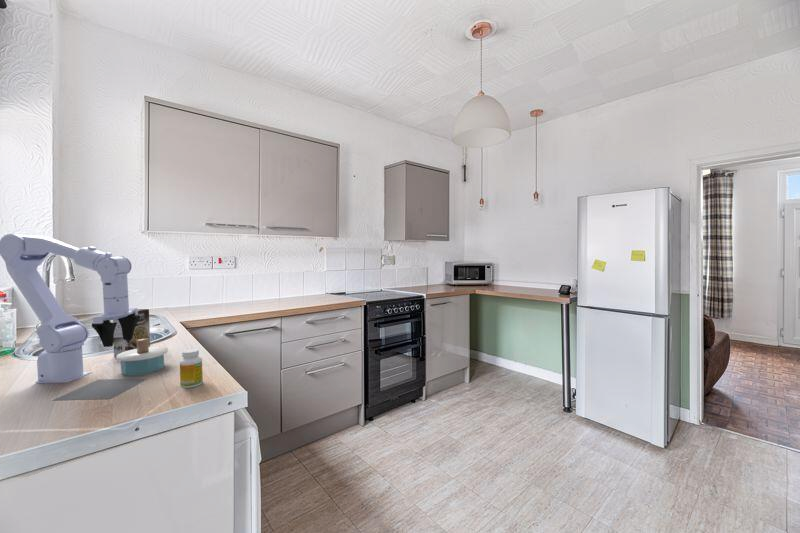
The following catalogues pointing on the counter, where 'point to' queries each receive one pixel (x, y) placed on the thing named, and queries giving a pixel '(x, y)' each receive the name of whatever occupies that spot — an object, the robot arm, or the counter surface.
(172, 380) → the counter surface
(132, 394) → the counter surface
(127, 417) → the counter surface
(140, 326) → the coffee box
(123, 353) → the lid
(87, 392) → the mat
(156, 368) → the bowl
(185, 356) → the supplement bottle
